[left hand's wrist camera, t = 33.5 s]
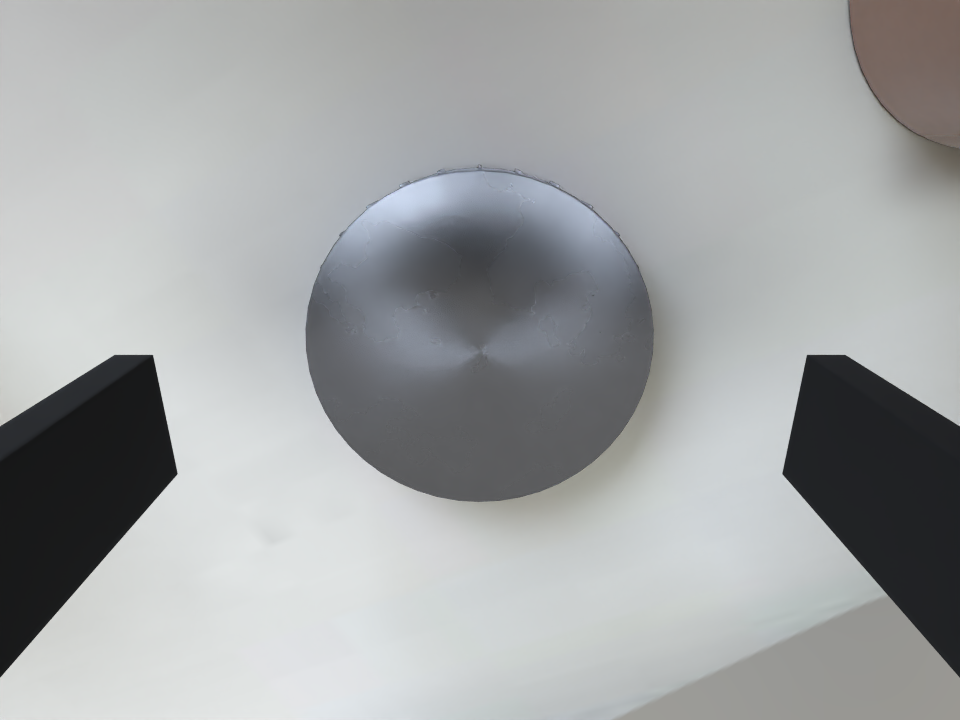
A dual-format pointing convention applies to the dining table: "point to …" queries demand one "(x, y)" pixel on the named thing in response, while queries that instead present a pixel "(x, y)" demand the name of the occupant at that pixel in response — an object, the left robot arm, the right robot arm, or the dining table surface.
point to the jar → (912, 61)
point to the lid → (479, 335)
